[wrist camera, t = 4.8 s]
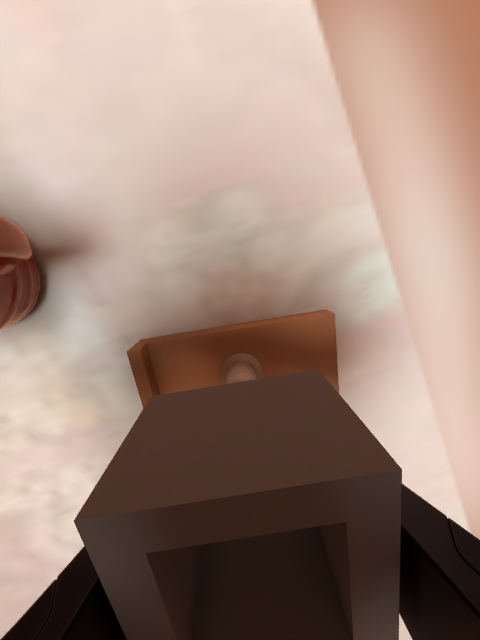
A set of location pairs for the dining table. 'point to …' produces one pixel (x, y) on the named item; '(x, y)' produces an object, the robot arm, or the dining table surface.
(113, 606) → the gray square frame
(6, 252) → the mug
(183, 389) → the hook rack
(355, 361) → the dining table surface
